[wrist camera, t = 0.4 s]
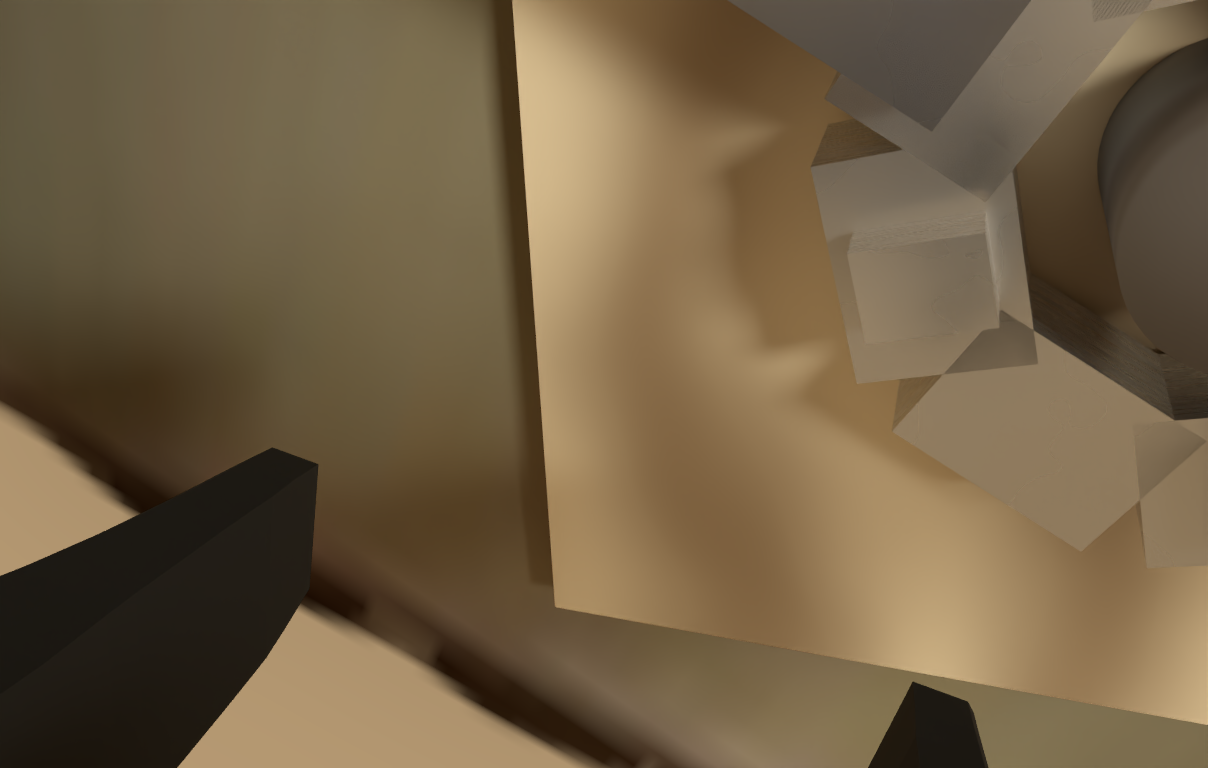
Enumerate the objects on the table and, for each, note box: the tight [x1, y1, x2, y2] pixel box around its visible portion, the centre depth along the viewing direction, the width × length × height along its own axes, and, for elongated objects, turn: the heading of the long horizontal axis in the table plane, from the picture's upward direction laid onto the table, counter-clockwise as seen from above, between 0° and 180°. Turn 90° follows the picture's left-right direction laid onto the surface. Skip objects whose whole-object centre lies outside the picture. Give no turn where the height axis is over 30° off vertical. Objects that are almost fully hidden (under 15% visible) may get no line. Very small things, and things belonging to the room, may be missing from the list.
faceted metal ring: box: [728, 0, 1208, 568], centre depth 14 cm, size 16×11×4 cm
